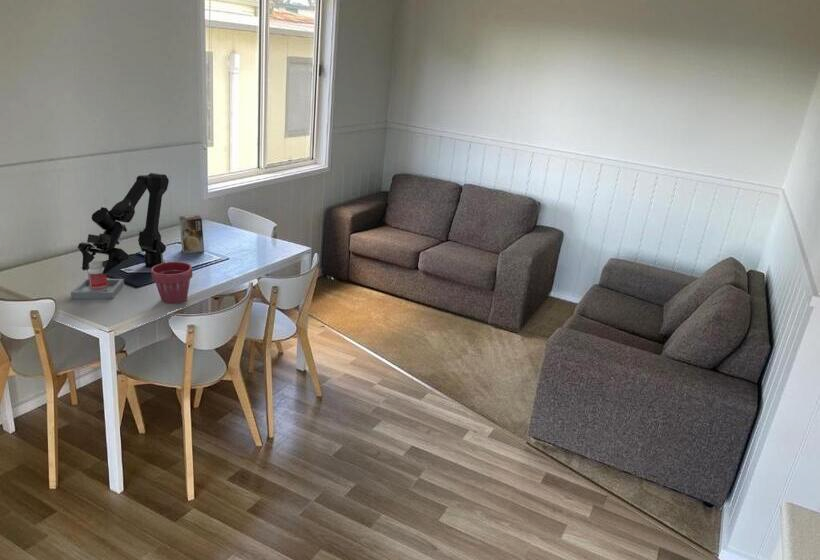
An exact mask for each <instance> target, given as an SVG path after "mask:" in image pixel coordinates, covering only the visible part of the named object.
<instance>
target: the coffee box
mask: <svg viewBox="0 0 820 560" xmlns="http://www.w3.org/2000/svg"><path fill="white" fill-rule="evenodd" d="M178 219H179V229H180V230H179V231H180V242H181V251H182V253H183V254H185V255H186V254H195V253H204V252H205V243H204V231H203V230H204V229H203V218H202V217H201V216H200V215H184V216H183V215H181V216H178Z"/></svg>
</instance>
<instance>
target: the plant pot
mask: <svg viewBox="0 0 820 560" xmlns="http://www.w3.org/2000/svg"><path fill="white" fill-rule="evenodd" d="M150 271H151V274H150V275H151V279H152V281H153V282H155V285H156V288H157V291H158V294H159V296H160V301H161V302H163V303H164V304H170V305H171V304H173V305H174V304H181V303H183V302H186V301H187V300H188V293H189V288H190V282H191V279H192V278H193V267H192V265H191V264H190V263H187V262H183V261H167V262H164V263H161V264H158V265H156V266H154V267H151V269H150Z"/></svg>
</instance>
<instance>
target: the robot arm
mask: <svg viewBox="0 0 820 560" xmlns="http://www.w3.org/2000/svg"><path fill="white" fill-rule="evenodd" d="M169 183H170V181H169V177H168V176H167V175H166V174H163V173H155V172H150V173H149V174H147V175H146V174H142V175H138V176H136V179H135V182H134V183H133V185H131V188H130V189H129V191H128V192H127V193H126V195H125V196H124V198H123V199H122V200H121V201H119V202H117V203H116V204H114V205H113V207H112V208H111V209H110V210H109V209H108V208H107V207H105V206H104V207H103V206H101V207H100V209H97V210H96V211H94V212H93V213H92V214H91V221H92V222H94V223H95V225H97V226H98V227H99V228H100V229H102V230H103V233H100V234H98V235H96V234H90V233H89V234H88V236H87V240H86V242H80V243H79V244H78V246H77V248H76V249H78V250H79V252H80V253H81V255H82V265H81V266H82V267H81V270H82V271H86V270H87V268H88V267H89V263H90V262H93V261H94V259H95V255H96V254H101V255H106V256H107V255H108V257H107V261H106V264H105V267H104V271H103V273H104V274H106V275H107V273H108V272H111V270H112V269H114V268H115V267H117V266H118V265H120V264H123V263H124V262H127V261H128V260H129V254H128V253H127V252H126V251H125V250H124V249H122V248H119V247H116V246H119V244H120V241H119V239H120V237H121V235H122V233H124V232H125V233H127V232H128V230H127V226H126V224H122V223H130V222H131V221H132V219H133V218H134V216H135V213H136V211H135V210H136V206H137V204H138V203H139V202H140V200H141V199H142V197H143V196H144V195H145V193H146V191H147V192H148V194H149V197H148V204H147V213H146V219H145V225H144V227H145V228H144V229H143V230H142V231H141V230H140V231H139V232H138V238H137V239H138V240H137V241H138V245H139V247H140V250H141V252H145V253H144V257H143V258H144V265H145V266H146V267H145V268H152V267H154V266H156V265H158V264H161V263H165V261H164V257H163V255H164V253H165V252H166V250H167V246H166V245H165V244H164V243H163V242H162V235H161V233H160V231H159V224H160V218H161V216H160V215H161V208H162V200H163V199H162V198H163V195H164V194H165V193H166V192H167V190H168V187H169ZM90 243H91V244H90ZM163 261H164V262H163Z"/></svg>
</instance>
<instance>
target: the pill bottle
mask: <svg viewBox="0 0 820 560" xmlns="http://www.w3.org/2000/svg"><path fill="white" fill-rule="evenodd" d="M103 265H104V264H103V261H101V260H92V262H90V263H89V266H88V267H89V268H88V269H87V279H89V287H90V291H98V292H104V291H106V290H107V289H108V286H107V279H108V278H107V273H106V274H104V273H103V271H104V268H105V267H104V266H103Z"/></svg>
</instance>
